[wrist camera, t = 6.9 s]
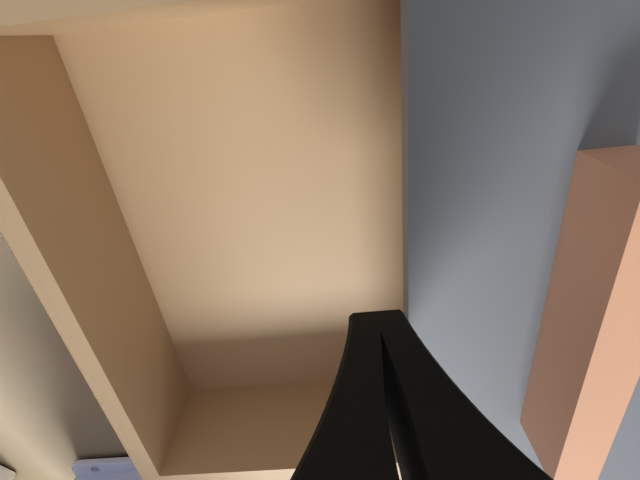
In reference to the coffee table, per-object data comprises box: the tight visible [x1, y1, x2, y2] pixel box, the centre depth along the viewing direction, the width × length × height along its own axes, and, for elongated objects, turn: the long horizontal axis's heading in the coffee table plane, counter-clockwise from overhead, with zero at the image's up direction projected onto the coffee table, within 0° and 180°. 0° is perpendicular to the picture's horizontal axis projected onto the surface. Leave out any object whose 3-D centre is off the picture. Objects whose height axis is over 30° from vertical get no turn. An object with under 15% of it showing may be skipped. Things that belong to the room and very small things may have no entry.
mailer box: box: [0, 0, 403, 480], centre depth 14 cm, size 14×18×5 cm
